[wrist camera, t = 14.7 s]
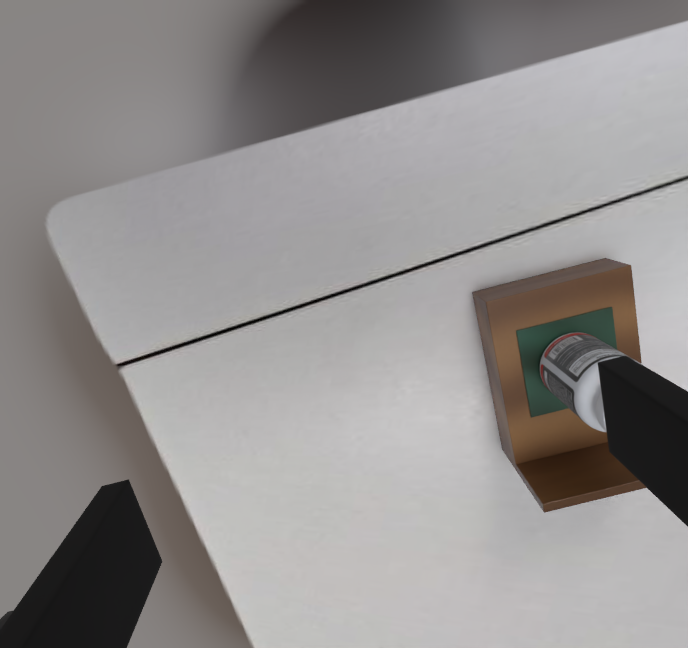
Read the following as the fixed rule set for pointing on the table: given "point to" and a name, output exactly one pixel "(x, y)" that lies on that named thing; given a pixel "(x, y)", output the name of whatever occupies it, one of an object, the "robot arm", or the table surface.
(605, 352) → the pill bottle
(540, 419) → the shelf
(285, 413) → the table surface
